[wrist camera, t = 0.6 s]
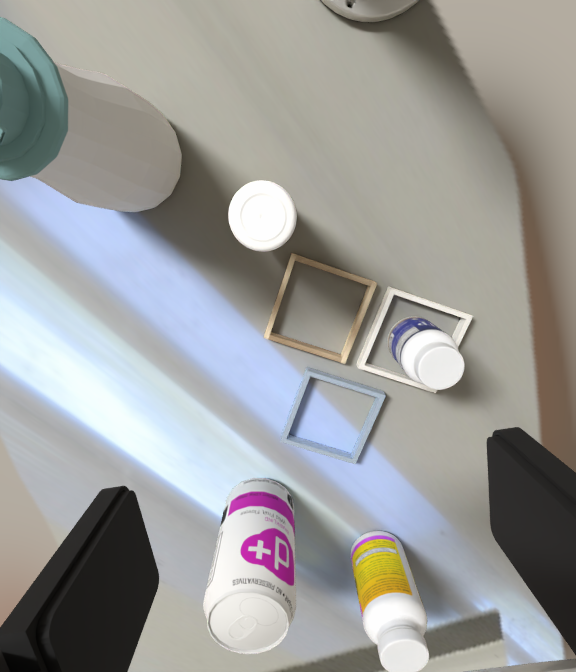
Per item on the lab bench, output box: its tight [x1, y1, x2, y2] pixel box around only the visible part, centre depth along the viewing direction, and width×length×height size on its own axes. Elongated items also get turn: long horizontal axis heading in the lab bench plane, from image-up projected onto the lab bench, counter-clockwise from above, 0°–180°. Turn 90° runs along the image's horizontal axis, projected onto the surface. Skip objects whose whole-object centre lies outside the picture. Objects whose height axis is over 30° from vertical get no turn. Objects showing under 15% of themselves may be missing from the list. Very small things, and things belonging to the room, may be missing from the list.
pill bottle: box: [387, 317, 464, 390], centre depth 38 cm, size 5×5×9 cm
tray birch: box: [264, 253, 377, 364], centre depth 40 cm, size 9×9×1 cm
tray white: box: [356, 286, 473, 393], centre depth 41 cm, size 9×9×1 cm
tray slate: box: [281, 367, 386, 464], centre depth 44 cm, size 9×9×1 cm
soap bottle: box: [0, 17, 182, 212], centre depth 26 cm, size 10×10×23 cm
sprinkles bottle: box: [228, 180, 297, 252], centre depth 32 cm, size 5×5×14 cm
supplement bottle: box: [351, 531, 429, 672], centre depth 44 cm, size 7×7×13 cm
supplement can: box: [203, 478, 296, 654], centre depth 41 cm, size 8×8×15 cm
